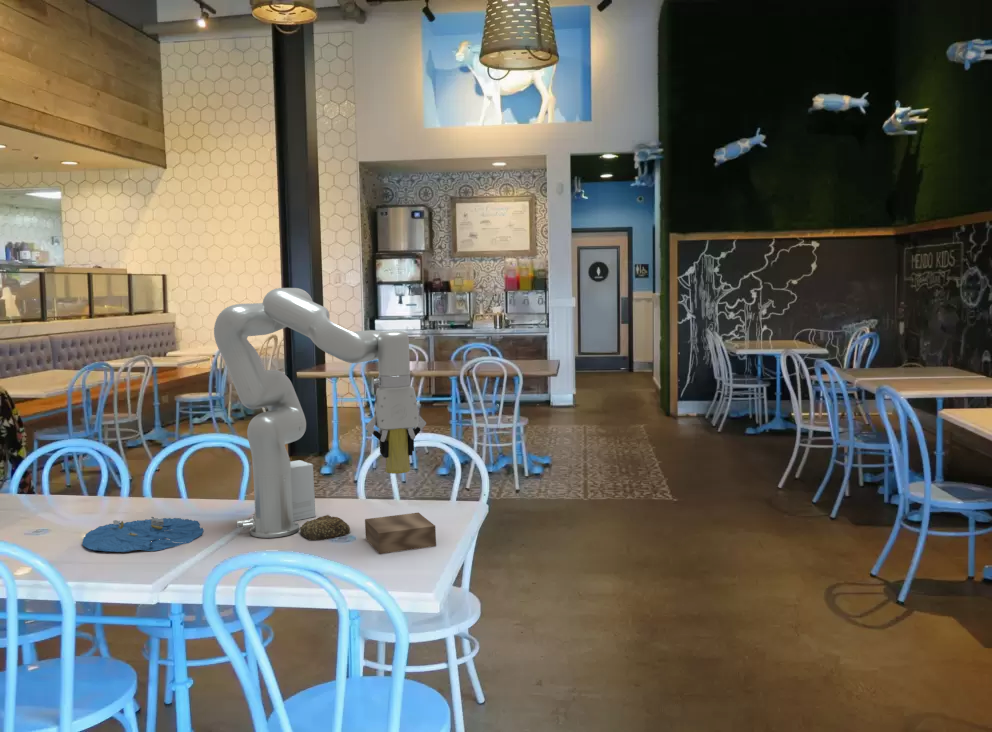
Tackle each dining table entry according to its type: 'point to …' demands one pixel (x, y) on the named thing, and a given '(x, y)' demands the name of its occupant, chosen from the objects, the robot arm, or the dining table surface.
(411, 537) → the block
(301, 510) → the supplement box
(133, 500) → the dining table surface
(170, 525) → the decorative plate
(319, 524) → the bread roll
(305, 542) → the dining table surface
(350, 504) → the dining table surface
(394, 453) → the vase
